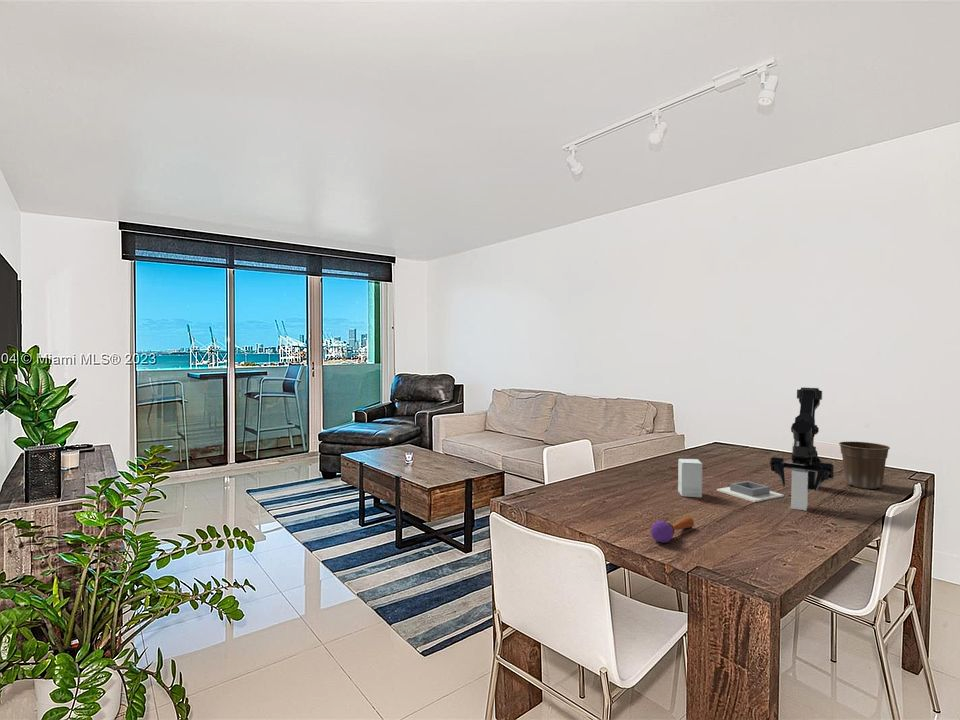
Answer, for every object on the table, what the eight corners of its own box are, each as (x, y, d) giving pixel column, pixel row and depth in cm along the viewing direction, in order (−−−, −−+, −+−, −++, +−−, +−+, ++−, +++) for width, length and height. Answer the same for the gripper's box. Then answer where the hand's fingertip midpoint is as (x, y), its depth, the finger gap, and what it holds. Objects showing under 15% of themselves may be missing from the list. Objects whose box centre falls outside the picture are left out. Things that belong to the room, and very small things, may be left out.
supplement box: (702, 497, 191) (702, 463, 191) (681, 496, 193) (681, 462, 192) (698, 492, 198) (698, 459, 198) (677, 490, 200) (678, 458, 199)
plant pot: (832, 478, 217) (833, 439, 217) (879, 481, 212) (880, 442, 212) (845, 488, 202) (846, 447, 202) (896, 492, 197) (897, 450, 196)
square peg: (792, 505, 182) (793, 468, 182) (807, 507, 180) (808, 469, 179) (790, 508, 179) (791, 470, 178) (806, 510, 176) (807, 472, 176)
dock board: (745, 487, 207) (745, 477, 207) (783, 497, 193) (784, 488, 193) (716, 492, 200) (716, 482, 200) (754, 503, 186) (754, 493, 186)
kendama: (700, 517, 159) (669, 528, 145) (695, 535, 160) (664, 548, 146) (681, 508, 163) (649, 519, 149) (677, 526, 164) (645, 538, 150)
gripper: (771, 434, 187) (766, 470, 179) (834, 439, 177) (832, 479, 168) (773, 452, 194) (769, 488, 186) (834, 458, 183) (832, 497, 175)
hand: (799, 488), depth 178 cm, fingers open, 9 cm apart
